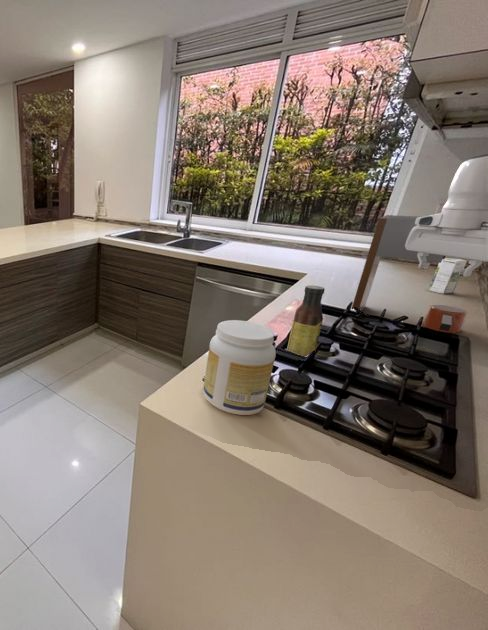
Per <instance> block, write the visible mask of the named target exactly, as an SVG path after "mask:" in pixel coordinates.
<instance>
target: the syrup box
mask: <svg viewBox="0 0 488 630" xmlns="http://www.w3.org/2000/svg"><path fill="white" fill-rule="evenodd" d="M467 263H468V260H467V259H463V258H457V257H445V259H442V262H441V263H438V265H437V267H436V269H435V272H434V274H433V277H432V279H431V282H430V284H429V286H428V288H427V290H428V291H429V292H433V293H438V294H442V295H445V294H446V295H448V294H453V293H454V291H455V290H456V287H457V285H458V283H459V280H460V279H461V276H459V273H460V270H461V269H465V267H466V264H467Z"/></svg>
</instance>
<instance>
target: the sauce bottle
mask: <svg viewBox="0 0 488 630" xmlns="http://www.w3.org/2000/svg"><path fill="white" fill-rule="evenodd" d="M303 290H304V296H303V299H302V303H301V304H300V305H299V306H298V307H297V308H296V310H295V313H294V317H293V320H292V324H291V329H290V333H289V337H288V338H289V339H288V343H287V348H286V350H287V349H288V350H289V351H291V352H293V353H295V354H297V355H301V356H307V355H308V354H309V353H310V352H312V351H314V350H315V349H316V350H317V345H318V341H319V338H320V333H321V329H322V324H323V321H324V317H323V310H322V298H323V295H324V294H325V290H326V289H325V287H324V286H319V285H305V287H304V289H303ZM316 350H315V351H316Z"/></svg>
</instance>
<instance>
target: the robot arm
mask: <svg viewBox="0 0 488 630" xmlns="http://www.w3.org/2000/svg"><path fill="white" fill-rule="evenodd" d="M447 195H448V197H447V199H446V202H445V203H444V205H443V206H442V208H441V211H440V212H439V213H435V214H430V215H423V216H424V217H419V218H417V219H416V221H415V225H418V226H415V227H414V228H413V229H412V230H411V232H410V234H409V236H408V238H407V241H406V244H405V247H406V249H407V250H409V251H416V252H418V254H417V257H418V260H419V261H418V260H417V261H418V262H419V263H418V265H417V268H418V269H422V270H427V269H429V268H430V265H431V262H428V261H427V259H426V256H428V255H429V253H430V254H437V255H444V256H445V257H450V258H457V259H463V260H468V264H469V265H468V266H467V267H466V268H464V269H461V270H460V273H459V276H460V277H467V278H469V277H470V276H471V275H472V273H473V271H474V270H475V269H478V268H479V267H480V266H481V265H482V264H483V262H486V263H488V153H486V154H481V155H476V156H472V157H470V158H468V159H466V160H464V161H463V162H462V163H461V164H460V165H459V167H458V169H457V170H456V172H455V174H454V176H453V179H452V181H451V183H450V186H449V189H448V191H447Z"/></svg>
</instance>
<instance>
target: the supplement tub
mask: <svg viewBox="0 0 488 630" xmlns="http://www.w3.org/2000/svg"><path fill="white" fill-rule="evenodd" d="M274 338H275V332H274V330H272V329H271V328H270V327H268V326H265V325H264V324H260V323H257V322H253V321H249V320H248V321H247V320H241V319H239V320H238V319H230V320H229V319H228V320H224V321H220V322H219V323H218V324H217V327H216V330H215V335H214V336H212V338H211V339H210V342H209V347H208V354H207V361H206V367H205V375H204V381H203V388H202V389H203V395H204V397H205V399H206V400H207V402H209V403H210V404H211V405H212V406H213V407H215V408H217V409H219V410H221V411H223V412H225V413H229V414H233V415H239V416H250V415H255V414H257V413H259V412H261V411H262V410H263V409H264V406H265V404H266V399H267V395H268V391H269V387H270V382H271V377H272V373H273V368H274V365H275V360H276V357H277V356H276V354H277V351H276V348H275V346H274V345H273V344H274V342H275V339H274Z"/></svg>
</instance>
